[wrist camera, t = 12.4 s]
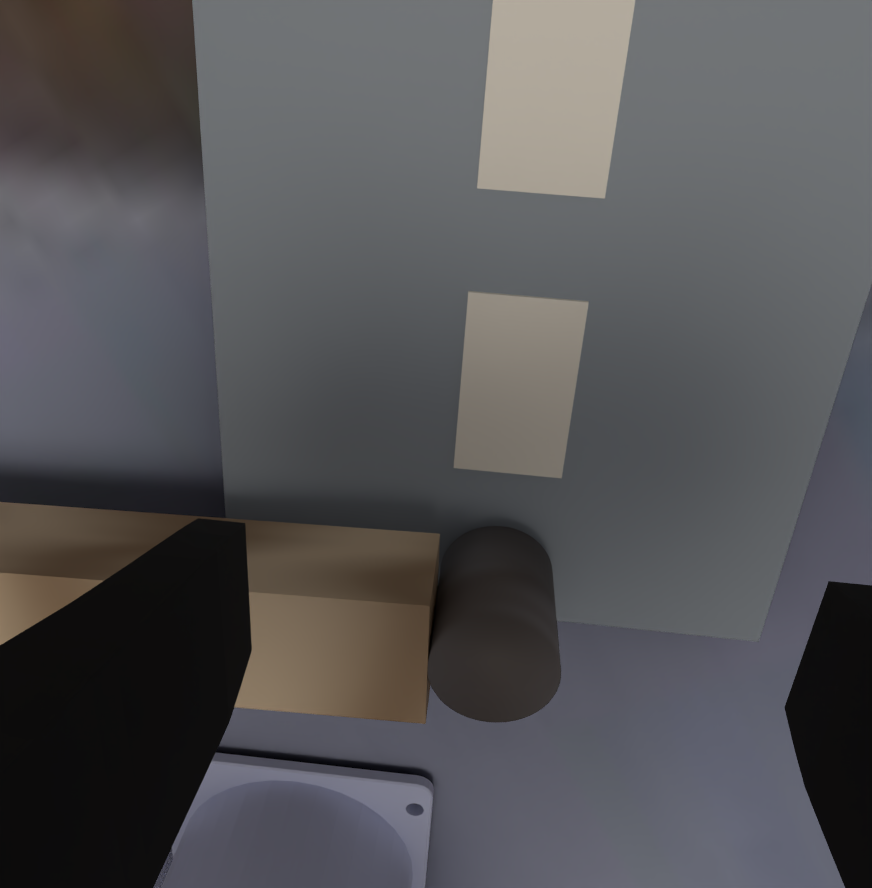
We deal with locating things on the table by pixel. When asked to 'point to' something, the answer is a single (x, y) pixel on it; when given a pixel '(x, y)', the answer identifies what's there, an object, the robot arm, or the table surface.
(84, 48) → the table surface
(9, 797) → the robot arm
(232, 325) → the label board
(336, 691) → the bar
